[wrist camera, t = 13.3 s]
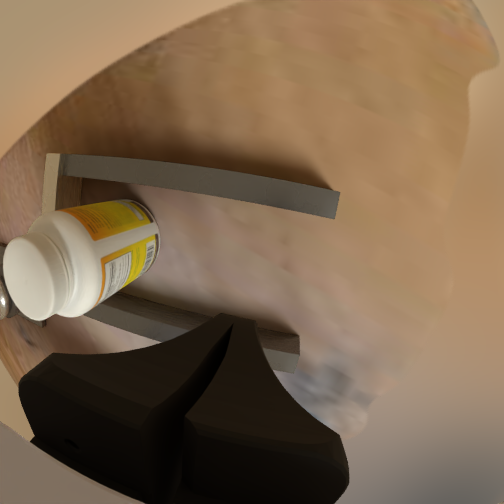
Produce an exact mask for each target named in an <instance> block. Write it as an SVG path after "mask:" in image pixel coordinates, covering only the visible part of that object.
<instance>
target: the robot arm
mask: <svg viewBox="0 0 504 504" xmlns="http://www.w3.org/2000/svg"><path fill="white" fill-rule="evenodd" d="M19 397H20V401H21V404H22V407H23V409H24V412H25V414H26V417H27V419H28V421H29V424H30V426H31V429H32V431H33V433H34V435H35V436H34V437H33V438H32V440H31V441H30V442H29V441H28V440H26V439H25V438H24V437H22V436H21V435H19V434H18V433H17V432H16V431H14V430H13V429H11V428H10V427H8V426H7V425H5V424H3V423H2V422H0V504H334V503H335V502H336V501H337V500H338V499H339V498H340V497H341V495H342V494H343V493H344V492H345V490H346V488H347V486H348V485H349V467H348V461H347V458H346V454H345V451H344V447H343V444H342V441H341V438H340V435H339V434H337V433H336V432H334V431H333V430H331V429H330V428H329V427H327V426H326V425H324V424H323V423H321V422H320V421H318V420H317V419H315V418H314V417H313V416H312V415H311V414H309V413H308V412H307V411H306V410H305V409H304V408H303V407H301V406H300V405H299V404H298V403H297V402H296V401H295V400H294V398H293V397H292V396H291V395H290V394H289V393H288V392H287V391H286V389H285V388H284V387H283V386H282V384H281V383H280V381H279V380H278V378H277V377H276V375H275V374H274V372H273V370H272V368H271V366H270V364H269V362H268V360H267V358H266V356H265V354H264V351H263V348H262V345H261V343H260V339H259V335H258V330H257V323H256V321H254V320H249V319H245V318H240V317H236V316H231V315H227V314H223V313H221V314H219V315H217V316H215V317H214V318H212V319H210V320H209V321H207V322H205V323H203V324H202V325H200V326H198V327H196V328H194V329H193V330H191V331H188V332H186V333H184V334H182V335H180V336H177V337H175V338H173V339H170V340H168V341H165V342H162V343H159V344H156V345H152V346H149V347H145V348H140V349H135V350H130V351H125V352H118V353H109V354H91V355H83V354H62V353H52V354H51V355H49V356H48V357H47V358H46V359H44V360H43V361H42V362H41V363H39V364H38V365H37V366H35V367H34V368H33V369H32V370H30V371H29V372H28V373H27V374H26V375H24V376H23V377H22V378H21V380H20V382H19ZM499 504H504V502H502V503H499Z"/></svg>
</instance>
